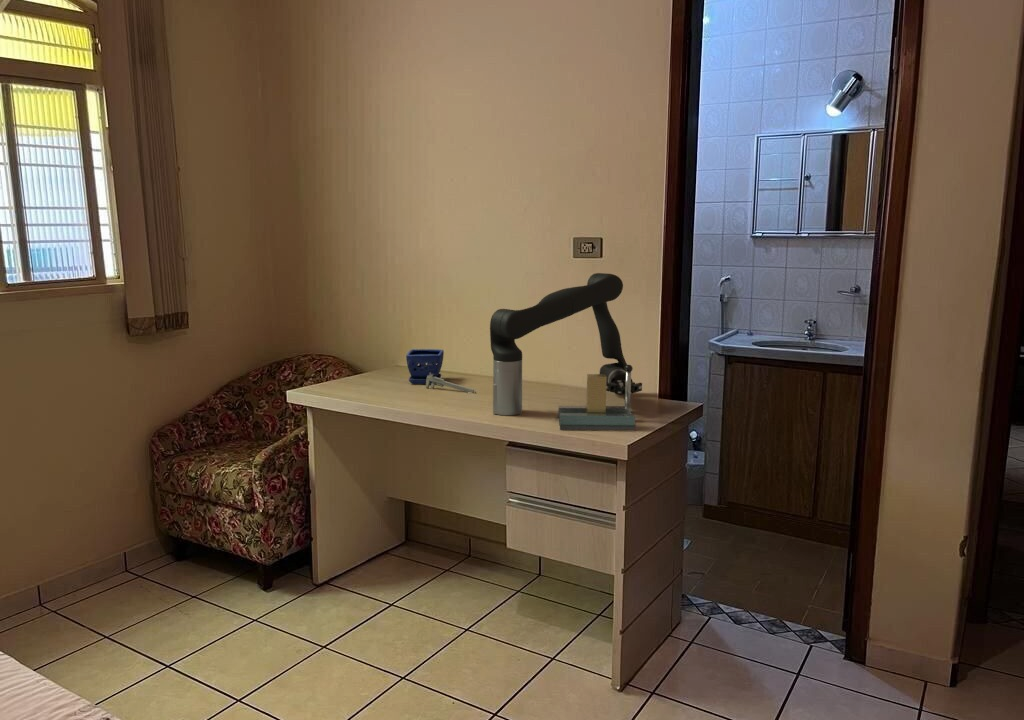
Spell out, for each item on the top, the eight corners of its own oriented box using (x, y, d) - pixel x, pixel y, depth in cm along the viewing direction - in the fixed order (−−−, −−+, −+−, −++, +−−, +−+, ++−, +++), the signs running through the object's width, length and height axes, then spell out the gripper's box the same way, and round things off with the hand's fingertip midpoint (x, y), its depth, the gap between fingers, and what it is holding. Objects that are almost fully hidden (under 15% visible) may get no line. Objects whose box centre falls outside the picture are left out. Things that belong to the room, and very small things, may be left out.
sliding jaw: (558, 414, 246) (559, 363, 243) (630, 414, 246) (632, 364, 243) (558, 416, 243) (559, 365, 240) (632, 417, 242) (633, 366, 239)
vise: (558, 417, 248) (558, 404, 247) (628, 417, 247) (628, 404, 247) (560, 430, 232) (560, 416, 231) (635, 430, 231) (635, 416, 231)
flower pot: (441, 385, 297) (440, 354, 295) (406, 385, 298) (405, 354, 296) (444, 379, 310) (444, 349, 309) (410, 378, 311) (410, 348, 309)
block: (586, 419, 240) (587, 374, 238) (604, 419, 240) (605, 374, 238) (587, 422, 236) (587, 376, 234) (605, 422, 236) (606, 376, 234)
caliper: (426, 389, 291) (425, 372, 290) (427, 388, 292) (427, 372, 291) (475, 394, 284) (475, 376, 282) (477, 393, 284) (476, 376, 283)
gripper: (600, 370, 264) (605, 380, 247) (640, 370, 263) (647, 380, 246) (599, 392, 265) (604, 403, 248) (639, 392, 265) (647, 404, 248)
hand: (626, 392), depth 247 cm, fingers closed
